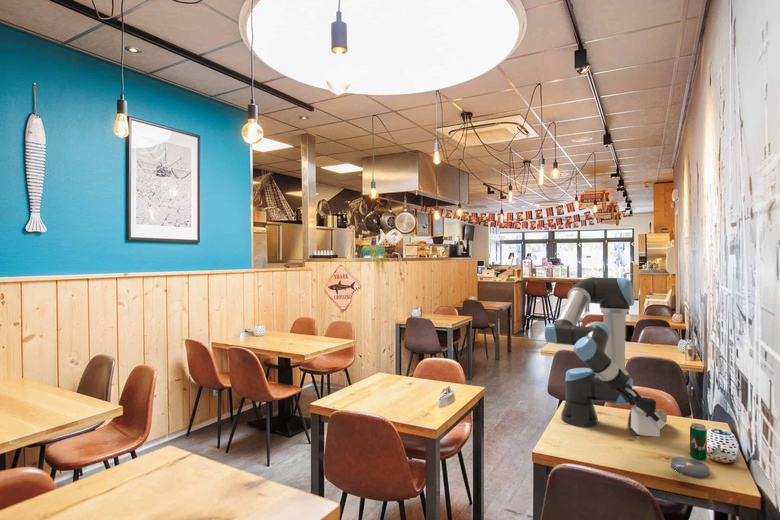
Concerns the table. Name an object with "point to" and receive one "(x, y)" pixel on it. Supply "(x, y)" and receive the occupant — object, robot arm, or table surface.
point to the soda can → (698, 441)
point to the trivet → (690, 467)
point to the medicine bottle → (644, 420)
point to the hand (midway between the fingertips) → (655, 421)
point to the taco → (660, 412)
